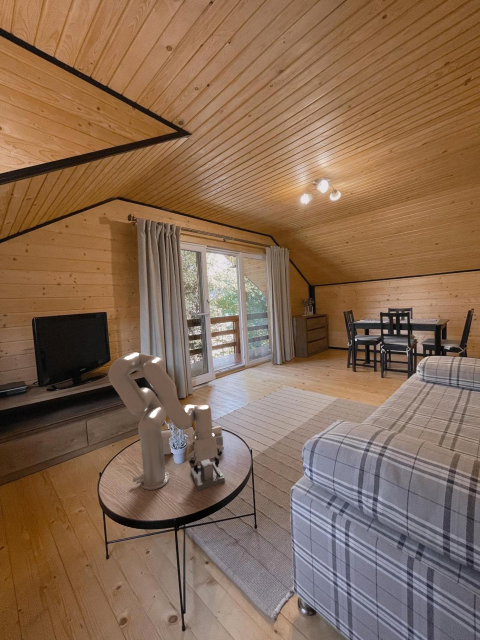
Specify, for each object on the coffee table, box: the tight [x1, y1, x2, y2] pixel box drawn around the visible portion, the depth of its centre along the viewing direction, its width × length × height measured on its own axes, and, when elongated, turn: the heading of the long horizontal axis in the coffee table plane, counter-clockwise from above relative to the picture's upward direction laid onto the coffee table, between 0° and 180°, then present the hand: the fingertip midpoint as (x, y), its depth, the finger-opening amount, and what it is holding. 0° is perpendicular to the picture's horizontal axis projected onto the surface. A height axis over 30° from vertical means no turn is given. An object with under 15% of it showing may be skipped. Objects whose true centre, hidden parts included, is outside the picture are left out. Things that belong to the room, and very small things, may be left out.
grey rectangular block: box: [199, 459, 214, 481], centre depth 124 cm, size 4×7×6 cm, turn 24°
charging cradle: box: [190, 460, 226, 491], centre depth 124 cm, size 12×14×2 cm
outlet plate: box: [212, 425, 224, 447], centre depth 144 cm, size 14×6×12 cm, turn 114°
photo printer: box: [161, 430, 172, 456], centre depth 146 cm, size 10×4×12 cm, turn 98°
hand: (206, 469), depth 124 cm, fingers open, 9 cm apart
